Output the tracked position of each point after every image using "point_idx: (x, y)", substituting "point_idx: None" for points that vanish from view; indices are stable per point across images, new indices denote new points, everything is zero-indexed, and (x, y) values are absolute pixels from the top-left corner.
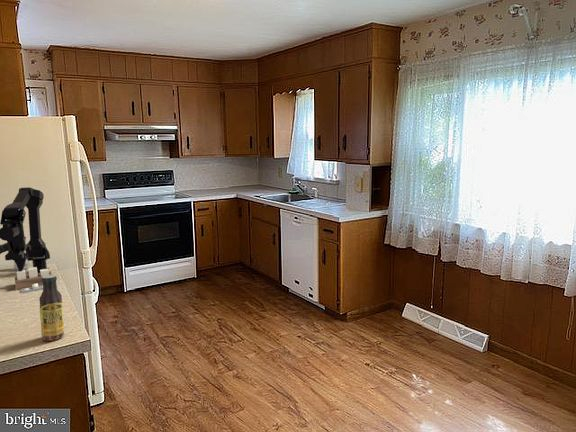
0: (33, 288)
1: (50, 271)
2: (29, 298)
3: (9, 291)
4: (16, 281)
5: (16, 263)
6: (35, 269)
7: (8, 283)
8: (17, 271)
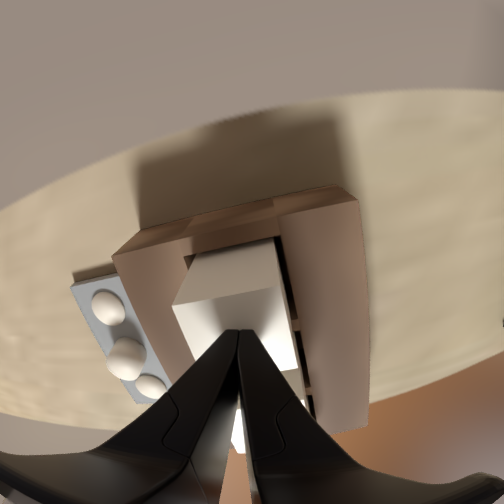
0: (114, 344)
1: (360, 426)
2: (9, 325)
3: (128, 186)
4: (136, 263)
5: (148, 417)
6: (235, 441)
7: (396, 120)
8: (235, 304)
